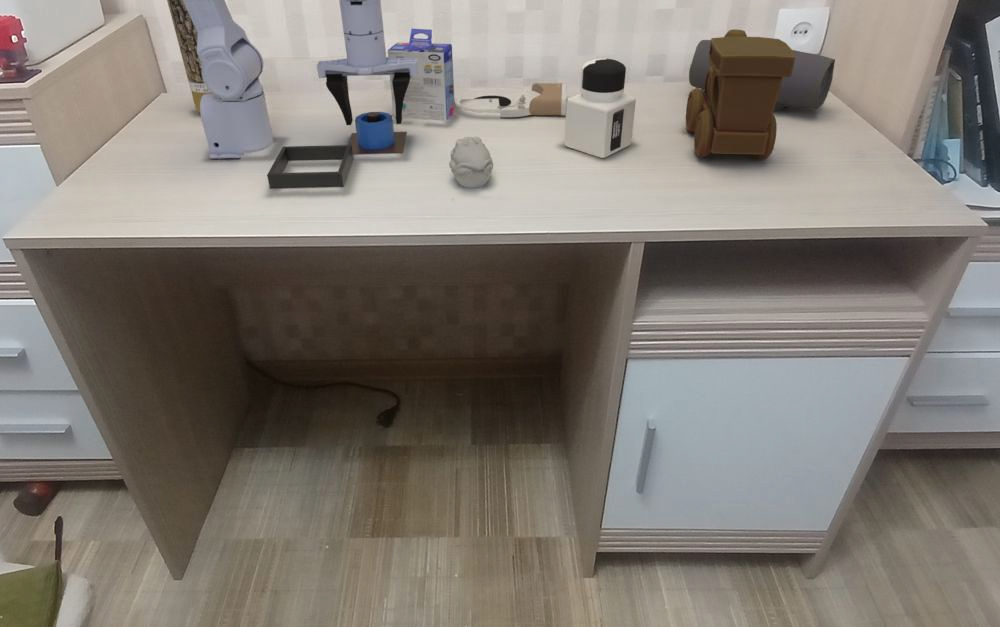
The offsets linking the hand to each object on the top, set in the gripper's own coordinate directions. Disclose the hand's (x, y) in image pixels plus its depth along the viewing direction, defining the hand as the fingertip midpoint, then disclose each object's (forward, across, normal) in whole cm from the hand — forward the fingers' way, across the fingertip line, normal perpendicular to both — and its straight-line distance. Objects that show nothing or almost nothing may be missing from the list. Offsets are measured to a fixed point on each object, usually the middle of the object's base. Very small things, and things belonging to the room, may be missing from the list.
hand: (374, 122), depth 109 cm
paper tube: (+4, -31, +20) cm, 37 cm away
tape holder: (+4, 0, 0) cm, 4 cm away
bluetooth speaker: (+5, +66, +17) cm, 68 cm away
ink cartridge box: (+4, +7, +13) cm, 15 cm away
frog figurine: (+4, +15, -15) cm, 22 cm away
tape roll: (+3, 0, 0) cm, 3 cm away
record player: (+4, +22, +18) cm, 29 cm away
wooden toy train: (+5, +55, -2) cm, 55 cm away
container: (+5, +35, -1) cm, 35 cm away
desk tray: (+4, -8, -11) cm, 14 cm away
